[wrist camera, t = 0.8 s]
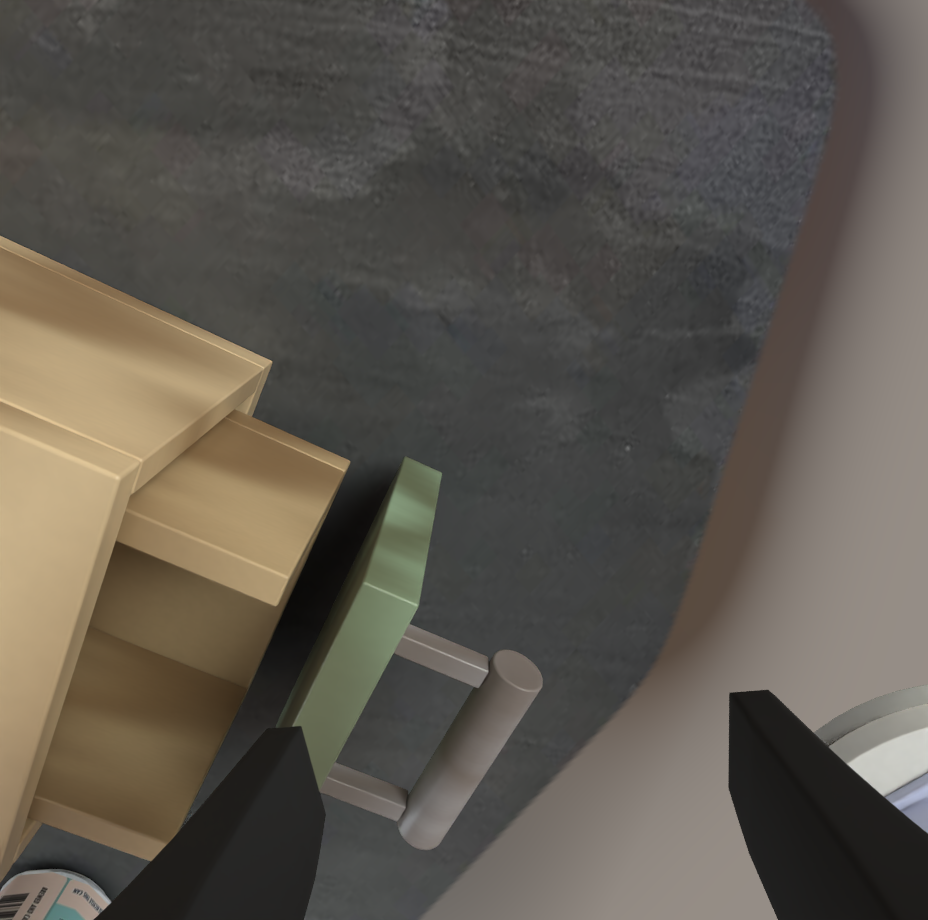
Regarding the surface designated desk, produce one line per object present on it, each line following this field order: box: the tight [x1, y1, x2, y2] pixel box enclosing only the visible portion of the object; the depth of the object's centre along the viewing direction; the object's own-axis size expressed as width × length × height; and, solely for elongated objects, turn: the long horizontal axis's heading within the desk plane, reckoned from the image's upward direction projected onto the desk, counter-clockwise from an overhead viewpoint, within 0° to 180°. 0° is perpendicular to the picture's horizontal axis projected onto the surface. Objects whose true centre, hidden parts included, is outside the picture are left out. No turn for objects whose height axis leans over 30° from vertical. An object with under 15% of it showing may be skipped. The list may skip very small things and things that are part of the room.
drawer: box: [27, 409, 543, 861], centre depth 18 cm, size 17×10×7 cm, turn 64°
